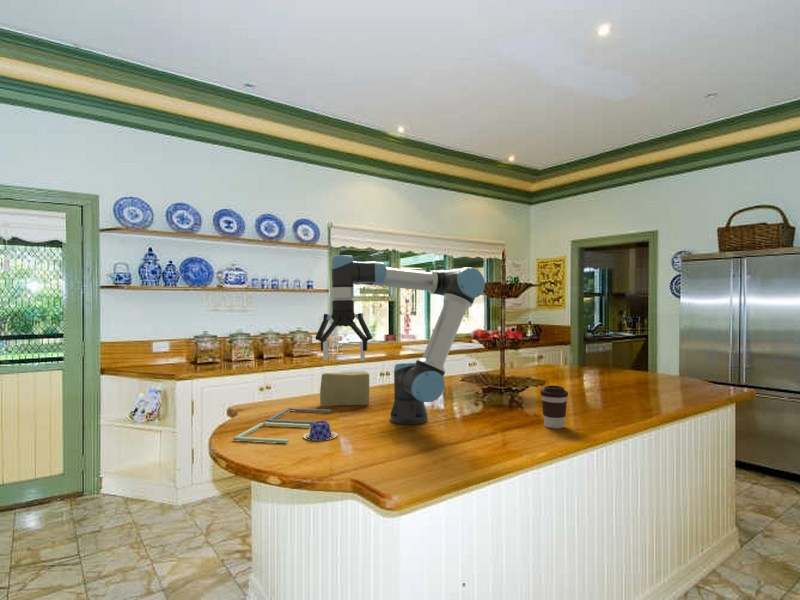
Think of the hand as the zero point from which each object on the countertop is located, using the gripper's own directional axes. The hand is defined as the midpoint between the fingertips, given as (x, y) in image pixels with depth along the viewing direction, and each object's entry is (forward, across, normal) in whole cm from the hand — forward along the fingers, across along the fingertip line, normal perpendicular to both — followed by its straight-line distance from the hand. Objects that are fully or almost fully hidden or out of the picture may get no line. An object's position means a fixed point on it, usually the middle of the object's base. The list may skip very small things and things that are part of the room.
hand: (344, 360), depth 163 cm
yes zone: (+27, +26, +1) cm, 37 cm away
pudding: (+28, +9, +1) cm, 29 cm away
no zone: (+27, +27, -23) cm, 44 cm away
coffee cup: (+28, -73, -29) cm, 84 cm away
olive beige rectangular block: (+28, +17, -49) cm, 59 cm away
